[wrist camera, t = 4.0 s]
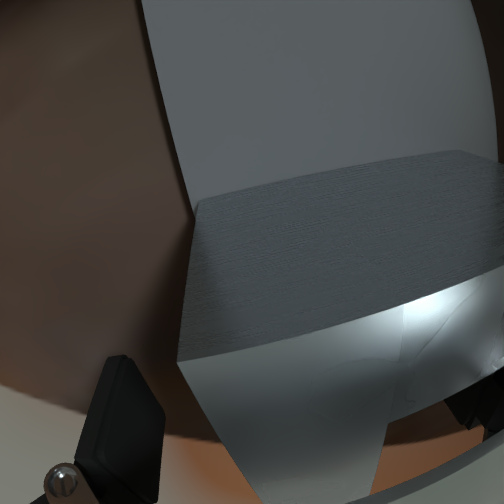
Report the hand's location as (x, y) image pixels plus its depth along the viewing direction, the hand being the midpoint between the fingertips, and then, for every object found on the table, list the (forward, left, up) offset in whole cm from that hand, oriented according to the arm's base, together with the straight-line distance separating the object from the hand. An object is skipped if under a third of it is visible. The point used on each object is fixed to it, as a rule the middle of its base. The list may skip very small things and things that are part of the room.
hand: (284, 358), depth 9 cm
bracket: (-1, +3, -1) cm, 3 cm away
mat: (-10, +4, -2) cm, 11 cm away
